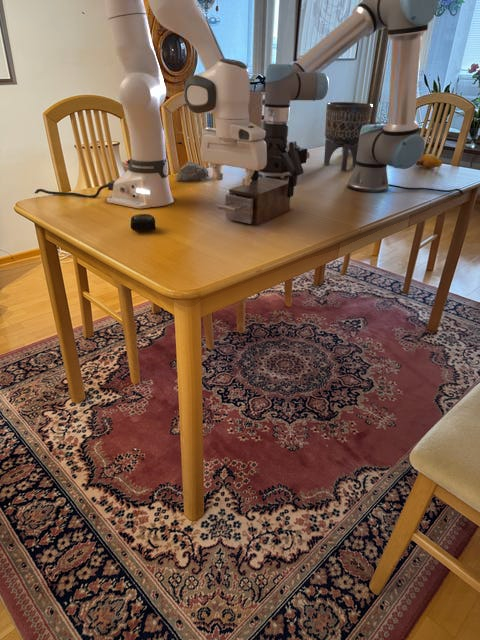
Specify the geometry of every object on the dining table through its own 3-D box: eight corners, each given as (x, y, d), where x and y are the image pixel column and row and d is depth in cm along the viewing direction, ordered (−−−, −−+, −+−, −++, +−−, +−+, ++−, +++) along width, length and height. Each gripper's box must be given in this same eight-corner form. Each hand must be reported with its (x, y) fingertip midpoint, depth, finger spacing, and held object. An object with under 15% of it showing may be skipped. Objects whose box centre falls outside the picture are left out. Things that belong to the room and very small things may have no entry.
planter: (313, 167, 208) (319, 103, 195) (331, 160, 222) (338, 101, 209) (353, 173, 199) (362, 107, 185) (369, 166, 213) (379, 104, 199)
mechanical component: (240, 120, 182) (283, 115, 202) (239, 174, 192) (280, 164, 212) (283, 126, 170) (325, 120, 190) (280, 183, 180) (320, 171, 200)
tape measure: (131, 234, 126) (129, 221, 124) (132, 226, 132) (131, 213, 130) (155, 233, 127) (154, 220, 125) (156, 225, 133) (155, 213, 131)
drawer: (238, 229, 129) (239, 204, 126) (213, 222, 134) (213, 198, 130) (282, 209, 147) (283, 187, 143) (258, 204, 151) (259, 182, 148)
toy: (416, 161, 206) (411, 154, 219) (419, 175, 209) (413, 167, 222) (442, 153, 203) (435, 147, 216) (444, 167, 206) (437, 160, 219)
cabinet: (256, 225, 136) (257, 194, 131) (228, 218, 140) (229, 189, 136) (289, 209, 150) (291, 181, 145) (263, 204, 155) (264, 177, 150)
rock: (201, 174, 189) (200, 158, 186) (213, 179, 184) (213, 162, 180) (174, 179, 182) (173, 162, 178) (186, 184, 176) (186, 167, 173)
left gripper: (194, 127, 123) (196, 179, 130) (257, 134, 113) (256, 190, 120) (209, 125, 128) (210, 175, 135) (271, 131, 118) (268, 185, 125)
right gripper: (235, 119, 140) (234, 189, 151) (307, 127, 128) (300, 202, 139) (248, 117, 145) (246, 184, 156) (319, 125, 133) (311, 197, 144)
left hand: (232, 182), depth 127 cm, fingers open, 8 cm apart
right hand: (272, 193), depth 147 cm, fingers open, 13 cm apart
